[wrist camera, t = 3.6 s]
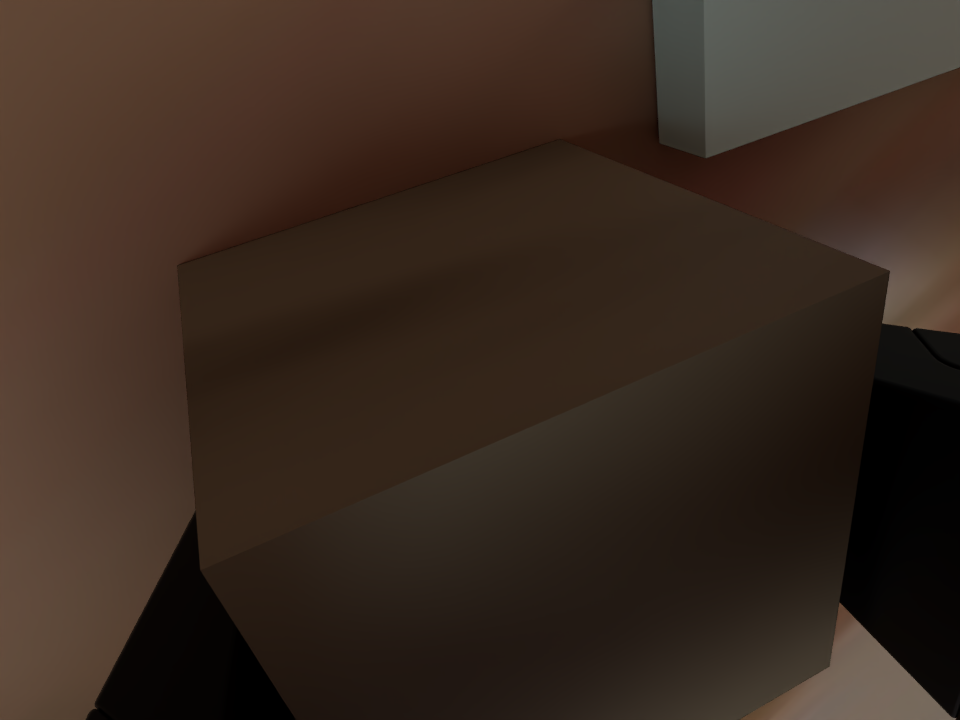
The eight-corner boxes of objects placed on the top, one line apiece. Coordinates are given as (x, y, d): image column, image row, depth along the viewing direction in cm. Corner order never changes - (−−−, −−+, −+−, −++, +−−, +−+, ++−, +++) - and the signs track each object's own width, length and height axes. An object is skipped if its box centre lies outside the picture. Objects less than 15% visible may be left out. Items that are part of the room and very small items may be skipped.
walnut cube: (596, 429, 12) (828, 665, 8) (316, 554, 11) (417, 908, 7) (560, 139, 9) (889, 271, 5) (177, 265, 8) (200, 569, 4)
